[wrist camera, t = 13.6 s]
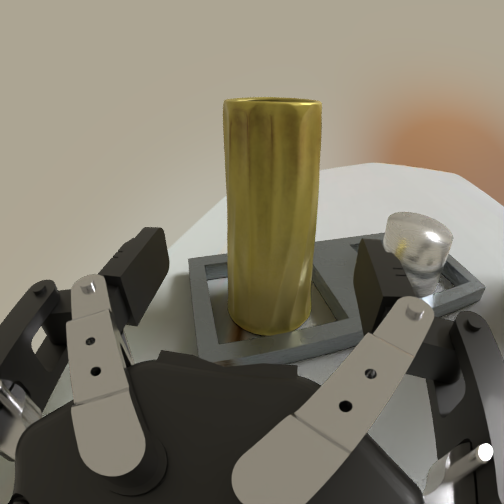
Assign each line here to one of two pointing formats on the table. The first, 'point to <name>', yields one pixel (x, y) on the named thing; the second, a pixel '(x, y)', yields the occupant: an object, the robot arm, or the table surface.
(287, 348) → the grey rectangular frame
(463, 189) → the table surface
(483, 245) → the table surface
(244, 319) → the vase
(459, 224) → the table surface
